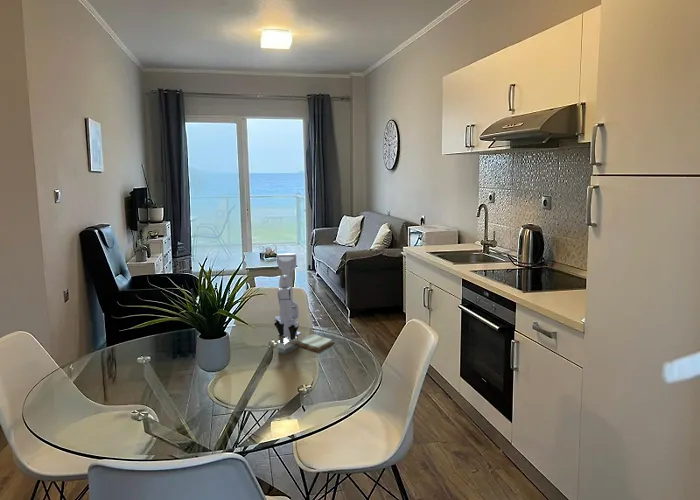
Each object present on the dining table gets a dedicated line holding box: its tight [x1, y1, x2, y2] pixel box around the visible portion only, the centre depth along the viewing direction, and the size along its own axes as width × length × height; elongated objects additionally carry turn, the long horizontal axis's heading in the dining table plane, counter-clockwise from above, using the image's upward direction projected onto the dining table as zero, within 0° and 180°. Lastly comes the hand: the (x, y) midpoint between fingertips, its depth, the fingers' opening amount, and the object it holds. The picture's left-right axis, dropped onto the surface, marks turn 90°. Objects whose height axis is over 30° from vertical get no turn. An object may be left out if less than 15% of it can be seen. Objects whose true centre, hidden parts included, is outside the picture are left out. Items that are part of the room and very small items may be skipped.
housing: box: [277, 336, 298, 355], centre depth 255 cm, size 4×9×6 cm, turn 144°
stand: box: [297, 333, 335, 353], centre depth 262 cm, size 14×13×2 cm
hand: (287, 337), depth 254 cm, fingers open, 7 cm apart
